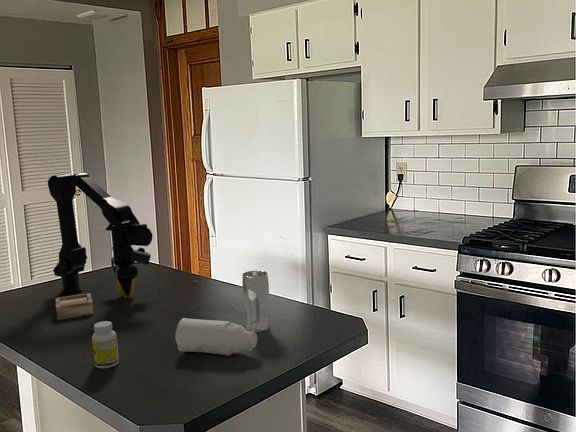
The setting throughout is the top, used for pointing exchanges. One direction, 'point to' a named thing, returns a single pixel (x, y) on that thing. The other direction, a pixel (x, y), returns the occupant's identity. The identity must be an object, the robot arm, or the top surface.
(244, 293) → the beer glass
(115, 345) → the supplement bottle
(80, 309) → the wooden serving tray
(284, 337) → the top surface
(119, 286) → the lemon
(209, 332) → the white plastic bottle
